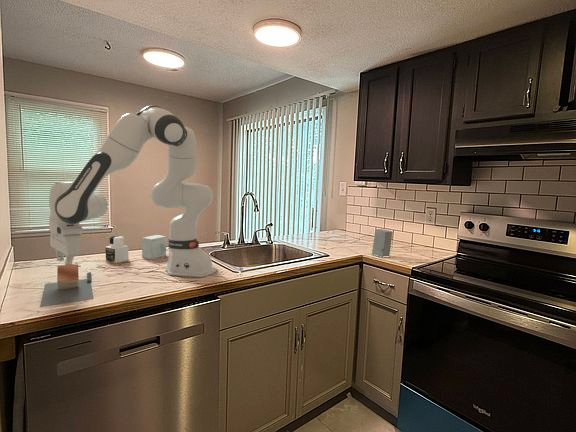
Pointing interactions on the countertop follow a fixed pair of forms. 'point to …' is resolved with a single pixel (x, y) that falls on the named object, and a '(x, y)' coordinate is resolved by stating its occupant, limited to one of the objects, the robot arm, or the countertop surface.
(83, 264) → the spatula
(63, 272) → the birch cube
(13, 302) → the countertop surface
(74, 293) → the rubber mat
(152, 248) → the skincare box
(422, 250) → the countertop surface
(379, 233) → the skincare box
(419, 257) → the countertop surface
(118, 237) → the medicine bottle
